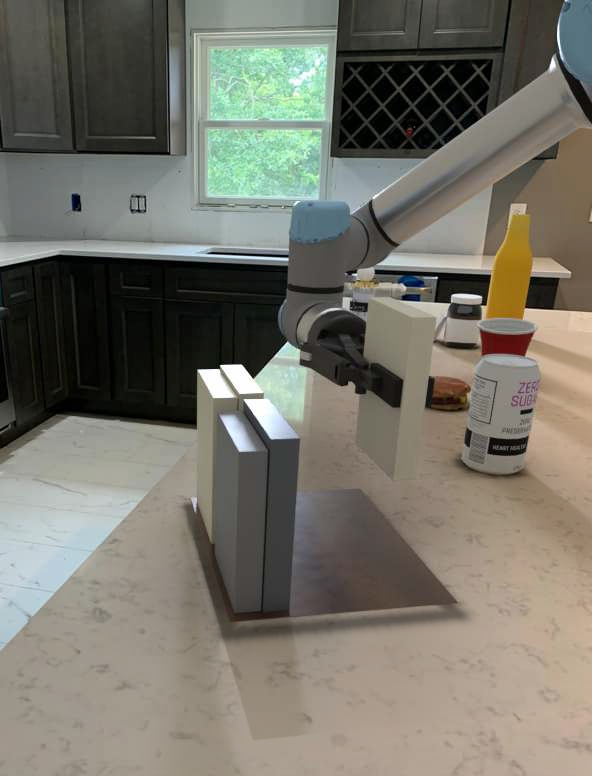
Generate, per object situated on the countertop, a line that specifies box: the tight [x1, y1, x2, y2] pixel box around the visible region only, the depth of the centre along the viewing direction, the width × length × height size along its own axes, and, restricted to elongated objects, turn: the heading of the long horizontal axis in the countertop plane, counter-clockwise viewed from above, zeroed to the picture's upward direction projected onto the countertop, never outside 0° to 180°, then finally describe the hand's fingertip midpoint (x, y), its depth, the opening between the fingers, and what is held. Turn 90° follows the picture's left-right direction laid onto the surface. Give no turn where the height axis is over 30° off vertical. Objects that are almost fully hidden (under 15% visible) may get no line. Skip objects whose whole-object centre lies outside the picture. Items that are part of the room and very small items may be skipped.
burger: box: [430, 375, 472, 411], centre depth 127 cm, size 10×9×5 cm
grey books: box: [215, 398, 301, 613], centre depth 65 cm, size 5×11×16 cm, turn 10°
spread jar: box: [433, 293, 483, 350], centre depth 172 cm, size 12×11×12 cm
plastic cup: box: [477, 318, 539, 361], centre depth 139 cm, size 11×11×12 cm
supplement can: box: [461, 354, 542, 476], centre depth 98 cm, size 8×8×15 cm
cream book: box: [354, 296, 438, 482], centre depth 74 cm, size 2×11×16 cm, turn 11°
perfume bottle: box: [348, 266, 380, 322], centre depth 155 cm, size 6×6×20 cm
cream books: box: [196, 364, 265, 544], centre depth 77 cm, size 5×11×16 cm, turn 10°
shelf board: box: [189, 488, 459, 623], centre depth 76 cm, size 21×26×2 cm
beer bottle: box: [483, 213, 534, 320], centre depth 181 cm, size 9×9×29 cm
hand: (413, 393), depth 69 cm, fingers closed on cream book, 2 cm apart
